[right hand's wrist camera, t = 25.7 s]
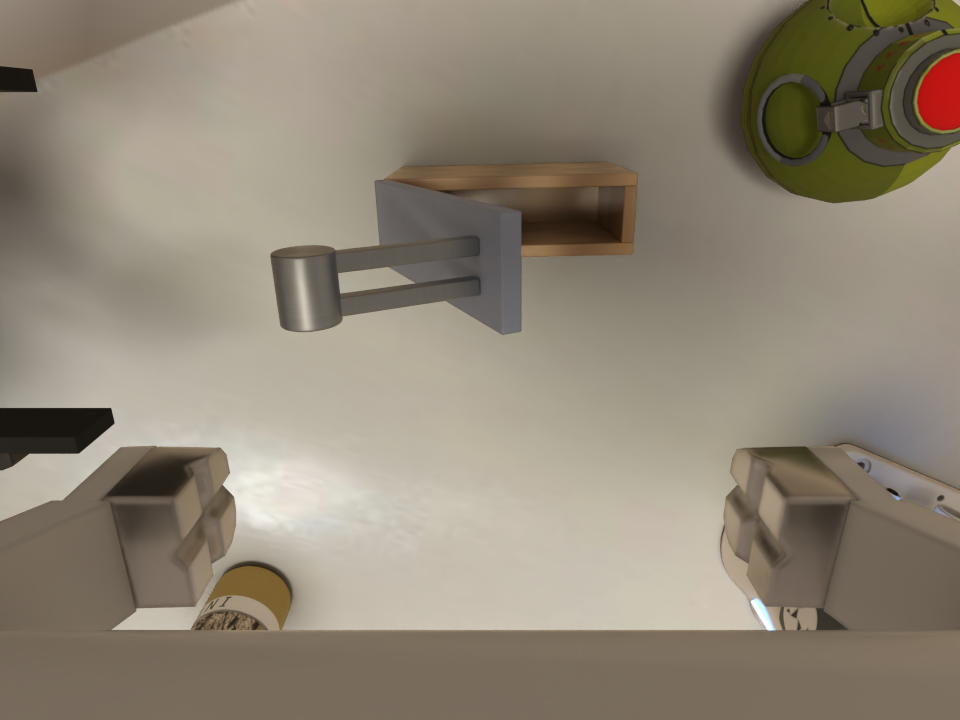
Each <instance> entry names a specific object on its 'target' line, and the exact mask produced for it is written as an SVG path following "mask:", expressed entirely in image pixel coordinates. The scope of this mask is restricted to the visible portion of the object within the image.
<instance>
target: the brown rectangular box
mask: <svg viewBox="0 0 960 720" xmlns="http://www.w3.org/2000/svg"><path fill="white" fill-rule="evenodd" d="M637 178H638V174H637V173H635V172H632V171H630V170H627V169H624V168H622V167H619V166H616V165H614V164H611V163H608V162H582V163H541V164H499V165H458V166H416V167H401V168H400V169H398V170H397V171H395V172H394V173H392V174H391V175H390V176H388V177H387V178H385V179H384V180H392V181H396V182H400V183H404V184H409V185H413V186H417V187H421V188H426V189H430V190H434V191H438V192H443V193H447V194H451V195H455V196H460V197H464V198H468V199H472V200H477V201H481V202H485V203H489V204H494V205H498V206H502V207H506V208H510V209H515V210H519V211H521V257H542V256H586V255H629V254H633V242H634V227H635V211H636V196H637V186H636V185H637Z"/></svg>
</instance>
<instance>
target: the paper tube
mask: <svg viewBox="0 0 960 720" xmlns="http://www.w3.org/2000/svg"><path fill="white" fill-rule="evenodd" d="M290 604H291V596H290V592H289V590H288V588H287V586H286V584H285V583H284V581H283V580H282V579H281V578H280V577H279V576H278V575H276V574H275V573H273V572H271V571H269V570H267V569H265V568H261V567H256V566H244V567H239V568H236V569H233V570H231V571H229V572H227V573H226V574H224V575H223V576H222V577H221V578H220V580H219V581H218V582H217V584H216V586H215V588H214V589H213V591H212V593H211V595H210V597H209V598H208V600H207V602H206V604H205V606H204V607H203V609H202V610H201V612H200V614H199V616H198V617H197V619H196V621H195V623H194V624H193V626H192V628H191V630H282V627H283V625H284V622H285V620H286V617H287V614H288V612H289V609H290Z"/></svg>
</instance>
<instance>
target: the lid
mask: <svg viewBox="0 0 960 720" xmlns="http://www.w3.org/2000/svg"><path fill="white" fill-rule="evenodd" d="M375 192H376V205H377V217H378V230H379V242H380V246H371V247H362V248H353V249H343V250H335V249H334V248H332V247H328V246H319V245H308V246H295V247H288V248H283V249H279V250H276V251H274V252H272V253H271V255H270V257H271V264H272V271H273V278H274V285H275V292H276V299H277V306H278V313H279V320H280V325H281V327H282V328H283V329H285V330H288V331H294V332H312V331H320V330H325V329H328V328H332V327H334V326H336V325H338V324H340V323H341V322H342V319H343V318H342V316H348V315H355V314H361V313H368V312H374V311H381V310H388V309H394V308H401V307H407V306H414V305H420V304H427V303H433V302H440V301H447V302H448V303H450V304H452V305H453V306H455V307H457V308H458V309H460V310H462V311H463V312H465V313H467V314H468V315H470V316H472V317H473V318H475V319H477V320H478V321H480V322H482V323H483V324H485V325H487V326H488V327H490V328H492V329H493V330H495V331H497V332H498V333H500V334H502V335H505V334H510V333H516V332H520V331H521V211H519V210H515V209H510V208H506V207H502V206H498V205H494V204H489V203H485V202H481V201H477V200H472V199H468V198H464V197H460V196H455V195H451V194H447V193H443V192H438V191H434V190H430V189H426V188H421V187H417V186H413V185H409V184H404V183H400V182H396V181H392V180H376V181H375ZM383 267H390V268H391V269H393V270H395V271H396V272H398V273H400V274H401V275H403V276H405V277H406V278H408V279H410V280H411V281H413V282H415V284H408V285H401V286H394V287H386V288H379V289H372V290H365V291H357V292H350V293H343V294H340V289H339V280H338V273H342V272H350V271H358V270H366V269H374V268H383Z"/></svg>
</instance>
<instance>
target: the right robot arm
mask: <svg viewBox="0 0 960 720" xmlns="http://www.w3.org/2000/svg"><path fill="white" fill-rule="evenodd" d="M859 462H860V463H859ZM857 463H859V465H858V464H857ZM229 474H230V470H229V465H228V460H227V455H226V453H225V452H224V451H223V450H222V449H221V448H206V447H156V446H135V447H121V448H119V449H118V450H117V451H116V452H115V453H114V454H113V455H112V456H111V457H110V458H109V459H107V460H106V461H105V462H104V463H103V464H102V465H101V466H100V467H99V468H98V469H96V470H95V471H94V472H93V473H92V474H91V475H90V476H89V477H88V478H87V479H86V480H84V481H83V482H82V483H81V484H80V485H79V486H78V487H77V488H76V489H75V490H73V491H72V492H71V493H70V494H69V495H68V496H67V497H66V498H65V499H64V500H63V501H50V502H47V503H45V504H43V505H40V506H38V507H35V508H33V509H30V510H28V511H25V512H23V513H20V514H18V515H15V516H13V517H10V518H8V519H5V520H3V521H0V720H960V490H958V489H956V488H953V487H951V486H949V485H946V484H944V483H942V482H939V481H937V480H934V479H932V478H930V477H927V476H925V475H922V474H920V473H918V472H915V471H913V470H911V469H908V468H906V467H903V466H901V465H899V464H896V463H894V462H892V461H889V460H887V459H884V458H882V457H880V456H877V455H875V454H872V453H870V452H868V451H865V450H863V449H861V448H858V447H856V446H853V445H850V444H842V445H839V446H836V447H834V446H816V447H764V448H741V449H737V450H736V452H735V454H734V457H733V459H732V464H731V470H730V474H731V475H732V477H733V478H734V480H735V481H736V483H737V484H738V485H737V486H736V487H735V488H734V489H733V490H732V491H731V492H730V493H729V494H728V495H727V496H726V501H725V509H724V524H725V529H724V533H723V537H722V543H721V555H722V561H723V564H724V567H725V570H726V572H727V574H728V575H729V577H730V578H731V580H732V581H733V582H734V583H735V585H736V586H737V587H738V588H739V589H740V590H741V591H742V592H743V593H744V594H745V595H746V596H747V598H748V599H749V601H750V605H751V608H752V611H753V614H754V616H755V617H756V619H757V620H758V621H759V623H760V624H761V625H762V626H763V627H765V628H767V629H768V630H112V629H113V628H114V627H116V626H117V625H118V624H120V623H121V622H122V621H124V620H125V619H126V618H128V617H129V616H130V615H132V614H133V613H134V612H136V608H162V607H195V606H196V604H197V603H198V601H199V599H200V598H201V596H202V594H203V592H204V591H205V589H206V587H207V586H208V584H209V582H210V580H211V579H212V577H213V570H212V563H214V562H215V561H217V560H219V559H220V558H222V557H224V556H225V554H226V553H227V551H228V549H229V547H230V545H231V543H232V540H233V535H234V531H235V527H236V507H235V500H234V496H233V495H232V494H231V493H230V492H229V491H228V490H227V489H226V488H225V487H224V486H223V485H222V484H223V483H224V481H225V480H226V478H227V477H228V475H229Z"/></svg>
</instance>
